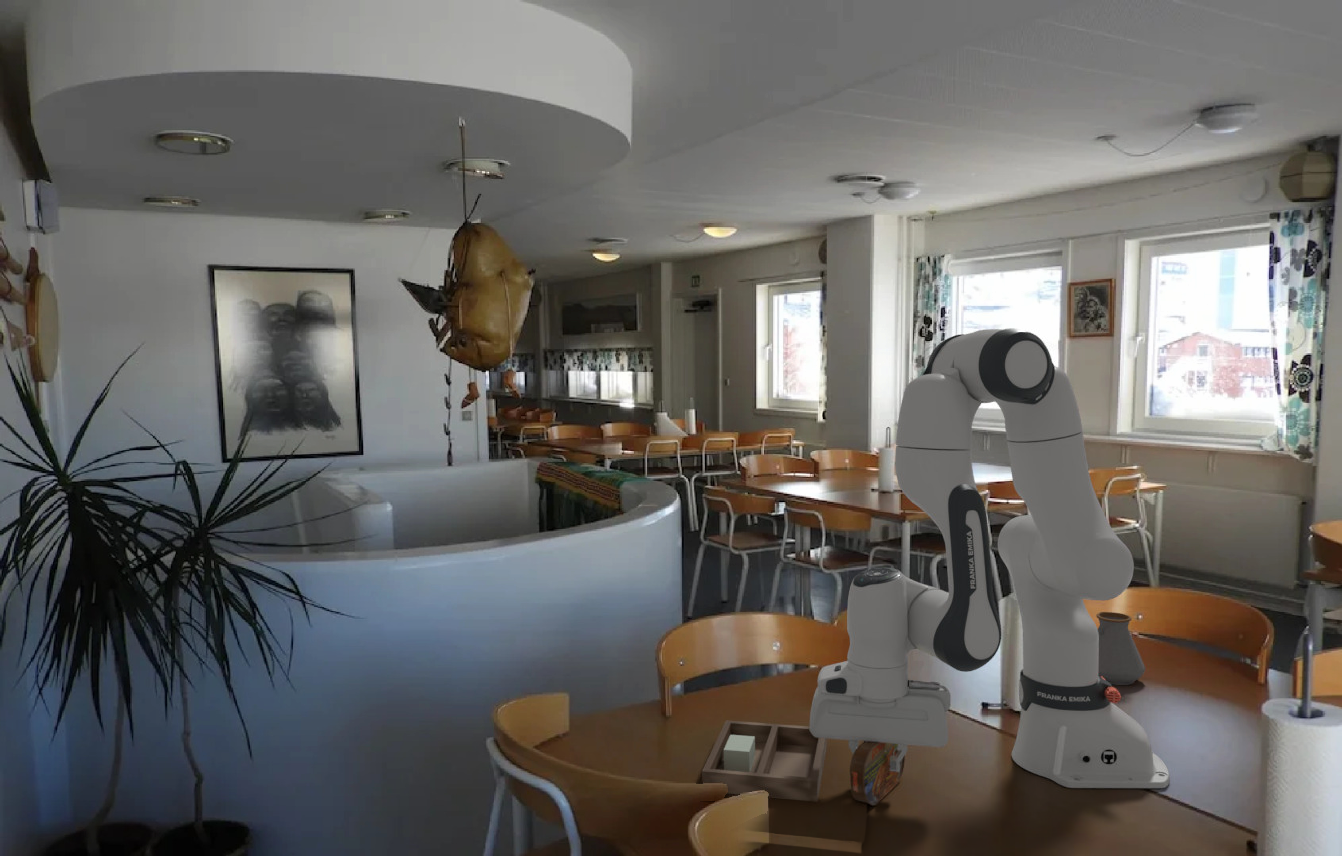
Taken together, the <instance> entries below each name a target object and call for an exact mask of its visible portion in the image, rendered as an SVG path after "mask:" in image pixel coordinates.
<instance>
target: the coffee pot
mask: <svg viewBox="0 0 1342 856" xmlns="http://www.w3.org/2000/svg"><path fill="white" fill-rule="evenodd" d="M1095 615H1096V616H1095V617H1096V618H1097V619H1098V621H1099V625H1098V627H1097V629H1098V633H1099V665H1098V676H1099V677H1101V676H1102V677H1103V678H1104V679H1105V680H1106V681H1108V682H1109V683H1110V684H1111V685H1112V686H1113V685H1114V686H1128V685H1132V684H1134V683H1135V682H1134V681H1138V680H1139V679H1140V678H1141V677H1143V675H1144V674H1145V671H1146V667H1145V664H1144V661H1143V659H1142V656H1141V654H1140V652H1139V650H1138V648H1137V646H1136V643H1135V641H1134V639H1133V636H1132V634H1131V631H1130V629H1129V624H1130V622H1131V621H1132V619H1133V618H1132V617H1131V615H1128V614H1126V613H1125V614H1124V613H1122V612H1121V613H1120V612H1112V611H1111V612H1110V611H1101V612H1098V613H1096V614H1095Z"/></svg>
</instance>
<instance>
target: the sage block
mask: <svg viewBox="0 0 1342 856" xmlns="http://www.w3.org/2000/svg"><path fill="white" fill-rule="evenodd" d="M754 760H755V736H742V735H730V737H729V739H728V741H727V744H726V746H725V748H724V770H729V771H740V772H750V771H751V768H752V765H753V762H754Z"/></svg>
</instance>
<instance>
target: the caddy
mask: <svg viewBox="0 0 1342 856" xmlns="http://www.w3.org/2000/svg"><path fill="white" fill-rule="evenodd" d="M730 735H742V736H755V760H754V762H753V765H752V768H751V771H750V772H740V771H729V770H724V748H725V746H726V744H727V741H728V739H729V737H730ZM827 748H828V738H817V737H814V736H813V735H812V733H811V732H810V730H809V726H808V725H807V726H806V725H793V724H781V723H766V722H753V721H741V720H740V721H739V720H738V721H737V720H729V719H728V720H727V719H726V720H725V721H724V723H723V726H722V729H721V730H720V732H719V735H718V736H717V738H716V741H715V743H714V745H713V748H712V749H711V751H710V754H709V756H708V758H707V760H706V762H705V764H704V766H703V769H702V771H701V774H702V775H701V776H702V777H701V779H702V783H723V784H727V786H728V793H727V794H729V795H730V794H732V795H739V794H740V793H743V792H752V791H756V790H765V791H767V792H768V793H769V797H768V798H771V799H772V798H774V799H781V800H782V799H784V800H791V801H792V800H794V801H804V802H806V801H807V802H813V803H814V802H815V803H817V802H818V801H819V795H820V791H821V790H820V788H821V783H822V776H823V771H824V765H825V760H826V754H827V750H828V749H827ZM702 783H701V784H702Z"/></svg>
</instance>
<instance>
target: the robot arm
mask: <svg viewBox="0 0 1342 856" xmlns="http://www.w3.org/2000/svg"><path fill="white" fill-rule="evenodd" d="M1071 383H1072V382H1071V381H1070V378H1069V376H1068V374H1067V373H1066V371H1064V370H1063V369H1062V368H1060V367H1058V366H1057V365H1056V366H1055V365H1054V363H1053V360H1052V355H1051V353H1050V350H1049V349H1048V347H1047V346H1046V344H1045V342H1044V341H1043V340H1042V339H1041V338H1040V337H1039V336H1038V335H1036V334H1034V333H1032V332H1031V331H1027V330H1024V329H1020V328H1004V329H1003V328H1001V329H999V328H989V329H988V328H987V329H980V330H976V331H973V332H968V333H965V334H963V333H962V334H961V333H960V334H955V335H953V336H950V337H947V338H945V339H944V340H943V341H941V342H939V344H938V345H936V346H935V348H934V349H933V351H932V352H931V354H930V356H929V357H928V360H927V364H926V368H925V369H924V371H923V373H922V375H920V376H918V377H915V378H914V379H912V380H910V382H909V383H908V384H907V386H906V387H905V388H904V392H903V397H902V399H901V404H900V408H899V414H898V420H897V429H896V439H895V455H894V457H895V459H894V460H895V461H894V462H895V463H894V464H895V465H894V467H895V468H894V469H895V474H896V481H897V484H898V487H899V488H900V490H901V491H902V493H903V494H904V495H905V497H906V498H907V499H908V500H910V502H912V504H914V505H915V506H917V507H918V508H919V509H920V510H922V512H924V513H925V514H926V515H927V516H928V517H929V518H930V519H931V520H932V521H933V522H934V524H935V525H936V526H937V527H938V529H939V530H940V533H941V534H942V537H943V541H944V545H945V555H946V568H947V569H946V570H947V584H948V591H945V590H943V589H940V588H938V587H934V586H931V585H929V584H924V583H920V582H918V581H915V580H914V579H911V578H909V577H908V576H906V575H905V574H903V573H902V571H900V570H899V569H897V568H892V567H874V568H873V567H872V568H870V569H869V568H867V569H865V570H863V571H861V572H859V573H858V574H856V575H855V576H854V577H853V579H852V580H851V584H850V587H849V592H848V599H847V613H846V614H847V617H846V623H847V624H846V627H847V633H848V636H849V647H848V652H847V660H845V661H841V662H837V663H832V664H828V665H825V666H823V667H822V668H821V670H819V673H818V676H817V687H816V689H815V692H814V694H813V698H812V703H811V708H810V716H809V726H808V727H809V730H810V732H811V733H812V735H813V736H814V737H817V738H827V739H831V740H843V741H845V740H846V741H848V748H849V750H850V751H851V753H852V755H853V754H854V752H855V750H856V749H857V747H858V746H859V742H864V741H868V742H880V743H893V744H898V752H897V754H896V755H895V756H890V771H893V772H900V761H901V760H902V759H903V757H904V755H905V756H906V755H907V753H908V745H909V746H921V747H933V748H944V747H945V746H946V744H947V743H949V729H948V720H947V714H946V713H947V712H948V711H949V709H950V708H951V692H950V690H949V689H948V688H947V686H944V685H942V684H941V683H940V682H937V681H921V680H913V679H909V652H910V651H912V650H918V651H920V652H923V653H925V654H928V655H929V656H932V657H934V658H935V659H938V660H940V661H941V662H942V663H944V664H946V665H948V666H950V667H951V668H953V670H956V671H959V672H964V673H967V672H973V671H976V670H978V669H980V668H982V667H984V666H985V665H986V664H988V663H989V662H990V661H992V659H993V658H994V657H995V655H997V652H998V650H999V649H1000V645H1001V642H1002V625H1001V621H1000V620H1001V619H1000V616H999V613H998V610H997V605H996V603H995V597H994V589H993V587H994V586H993V574H992V564H991V563H992V562H991V561H992V560H991V551H990V549H991V548H990V537H989V528H988V527H989V525H988V518H987V510H986V507H985V503H984V500H983V497H982V496H981V493H980V492H979V491H978V487H977V485H976V481H975V476H974V470H973V462H972V460H973V458H972V457H973V456H972V455H973V454H972V449H973V423H974V418H975V415H976V413H977V411H978V409H979V408H980V406H981V405H982V404H989V403H996V404H997V405H998V407H999V408H1000V410H1001V413H1002V415H1003V417H1004V425H1005V427H1004V428H1005V430H1004V431H1005V437H1006V443H1007V451H1008V458H1009V464H1010V472H1011V479H1012V484H1013V487H1014V490H1015V492H1016V493H1017V495H1018V496H1019V497H1020V498H1021V499H1022V501H1023V502H1024V504H1025V505H1026V507H1027V509H1028V511H1029V513H1030V514H1027V515H1025V514H1024V515H1018V516H1016V517H1013V518H1012V519H1010V520H1008V521H1007V522H1006V523H1005V524H1004V525H1003V527H1002V528H1001V530H1000V532H999V535H998V539H997V550H998V554H999V557H1000V558H1001V560H1002V562H1003V563H1004V564H1005V566H1006V568H1007V570H1008V572H1009V574H1010V579H1011V581H1012V584H1013V585H1012V586H1013V587H1014V591H1015V596H1016V599H1017V603H1018V608H1019V614H1020V617H1021V626H1022V669H1021V670H1020V672H1019V673H1020V674H1019V680H1018V682H1019V683H1018V697H1019V698H1018V702H1019V704H1020V716H1019V717H1020V718H1019V723H1018V728H1017V729H1018V730H1017V734H1016V735H1017V736H1016V738H1015V742H1014V745H1013V749H1012V751H1011V758H1012V760H1013V762H1014V763H1016V764H1017V765H1018V766H1020V767H1021V768H1023V769H1024V770H1026V771H1028V772H1029V773H1030V772H1031V773H1033V774H1035V775H1038V776H1041V777H1044V778H1047V779H1050V780H1052V781H1053V782H1055V783H1056V784H1058V785H1060V786H1062V787H1066V788H1068V789H1069V788H1070V789H1164V788H1167V787H1168V785H1169V784H1170V782H1171V780H1170V772H1169V770H1168V767H1167V765H1166V764H1165V763H1164V761H1163V760H1162V759H1161V758H1160V757H1159V756H1158V755H1157V754H1156V753H1154V752H1153V749H1152V745H1151V741H1150V739H1149V736H1148V734H1147V732H1146V731H1145V729H1144V727H1143V726H1142V725H1140V723H1139V722H1138V721H1137V720H1135V719H1134V718H1133V717H1132V716H1130V715H1129V714H1127V713H1126V712H1125V711H1123V710H1122V709H1121V708H1120V707H1119V706H1117V705H1116V704H1118V703H1119V701H1121V699H1122V696H1121V693H1120V691H1119V690H1118V689H1117V688H1116V687H1114V686H1113V684H1110V683H1109V682H1108V681H1106V680H1105V679H1104V678H1103V677H1102V676H1101V677H1099V676H1098V665H1099V633H1098V627H1097V625H1096V623H1095V620H1094V619H1093V618H1092V617H1091V615H1090V614H1089V612H1088V610H1087V607H1086V605H1085V602H1084V600H1088V601H1110V600H1113V599H1115V598H1117V597H1119V596H1120V595H1122V594H1123V593H1124V592H1125V590H1127V588H1128V587H1129V585H1130V584H1131V581H1132V579H1133V577H1134V575H1133V574H1134V571H1135V569H1134V568H1135V567H1134V566H1135V565H1134V563H1135V562H1134V558H1133V555H1132V553H1131V551H1130V549H1129V548H1128V546H1127V545H1126V544H1125V543H1124V542H1123V541H1122V540H1121V539H1120V538H1119V537H1118V536H1117V534H1116V533H1115V531H1114V530H1113V528H1112V526H1111V524H1110V523H1109V521H1108V519H1107V516H1106V515H1105V513H1104V510H1103V507H1102V506H1101V503H1100V501H1099V499H1098V496H1097V494H1096V492H1095V490H1094V486H1093V483H1092V480H1091V479H1092V478H1091V475H1090V472H1089V465H1088V460H1087V452H1086V446H1085V439H1084V438H1085V437H1084V432H1083V425H1082V420H1081V414H1080V409H1079V405H1078V402H1077V398H1076V395H1075V392H1074V390H1073V386H1072V384H1071Z"/></svg>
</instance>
